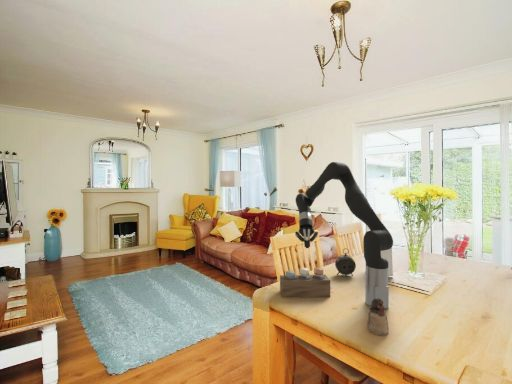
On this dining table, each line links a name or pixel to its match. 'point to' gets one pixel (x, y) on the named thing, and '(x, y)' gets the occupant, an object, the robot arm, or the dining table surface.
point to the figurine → (377, 318)
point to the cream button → (304, 271)
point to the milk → (388, 256)
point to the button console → (305, 286)
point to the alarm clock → (345, 264)
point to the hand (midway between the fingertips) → (307, 247)
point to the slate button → (290, 274)
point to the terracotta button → (318, 271)
